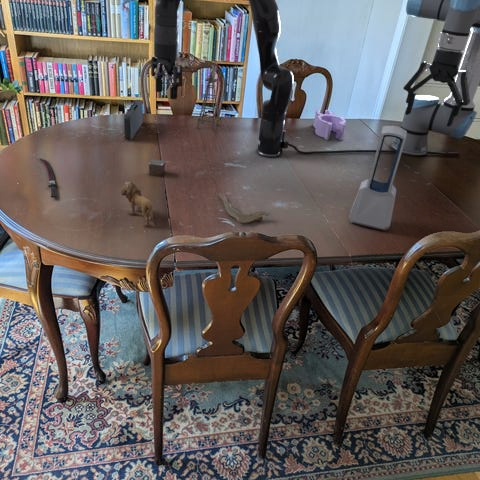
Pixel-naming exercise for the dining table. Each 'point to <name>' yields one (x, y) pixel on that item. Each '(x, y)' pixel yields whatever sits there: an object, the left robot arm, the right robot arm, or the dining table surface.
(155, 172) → the block
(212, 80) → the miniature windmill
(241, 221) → the jawbone
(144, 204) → the lion figurine
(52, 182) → the sword
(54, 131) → the dining table surface
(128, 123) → the handheld gaming console
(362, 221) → the electronic device
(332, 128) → the clip
